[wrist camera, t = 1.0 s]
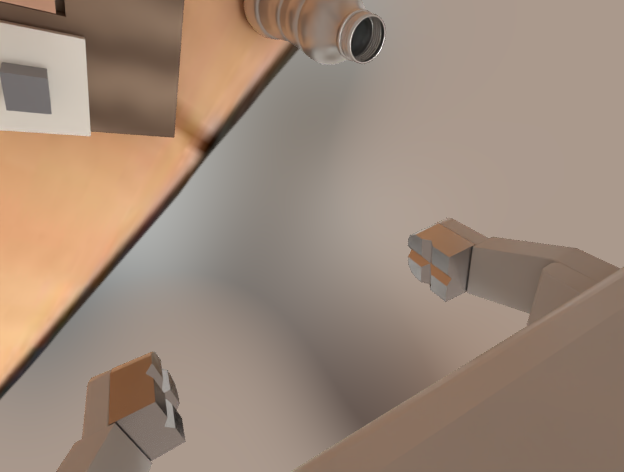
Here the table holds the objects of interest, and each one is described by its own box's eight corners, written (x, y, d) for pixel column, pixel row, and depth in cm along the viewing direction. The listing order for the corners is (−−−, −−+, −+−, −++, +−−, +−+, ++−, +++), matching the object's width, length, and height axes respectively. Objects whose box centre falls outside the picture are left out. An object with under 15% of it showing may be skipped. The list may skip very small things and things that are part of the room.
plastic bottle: (227, -13, 38) (322, 21, 25) (277, -45, 38) (394, -27, 26) (253, 44, 43) (344, 97, 30) (297, 15, 43) (404, 55, 31)
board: (-96, -155, 24) (-109, -163, 21) (177, -52, 34) (187, -50, 32) (-32, 108, 33) (-37, 122, 31) (167, 126, 43) (174, 137, 41)
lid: (-58, 8, 26) (-68, 17, 24) (84, 37, 31) (88, 47, 29) (-30, 123, 31) (-36, 142, 28) (89, 132, 36) (93, 148, 33)
